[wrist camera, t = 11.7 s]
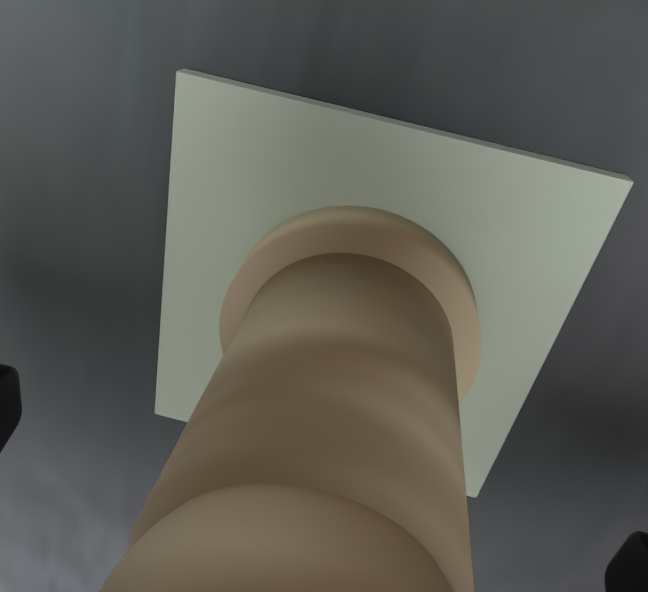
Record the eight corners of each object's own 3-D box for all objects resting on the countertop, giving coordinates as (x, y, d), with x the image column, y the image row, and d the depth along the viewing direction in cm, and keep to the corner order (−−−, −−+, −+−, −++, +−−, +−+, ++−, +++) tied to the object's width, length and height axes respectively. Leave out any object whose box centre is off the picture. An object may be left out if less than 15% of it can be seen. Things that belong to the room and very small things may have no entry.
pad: (626, 174, 10) (633, 182, 10) (475, 485, 14) (476, 498, 14) (184, 68, 10) (176, 71, 10) (161, 403, 14) (154, 413, 14)
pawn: (515, 242, 10) (792, 1030, 3) (434, 438, 13) (451, 1135, 5) (250, 177, 11) (-233, 734, 3) (222, 383, 13) (-75, 980, 5)
